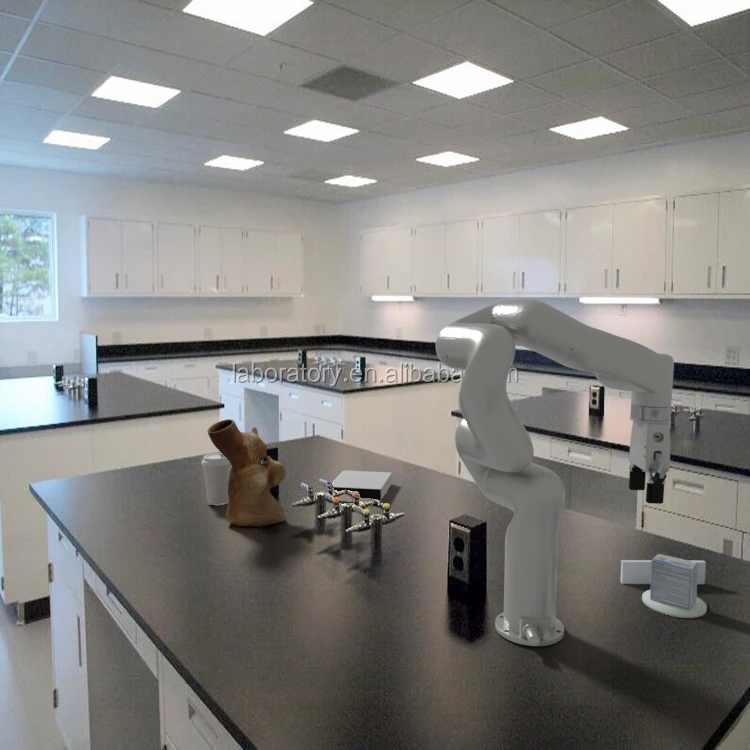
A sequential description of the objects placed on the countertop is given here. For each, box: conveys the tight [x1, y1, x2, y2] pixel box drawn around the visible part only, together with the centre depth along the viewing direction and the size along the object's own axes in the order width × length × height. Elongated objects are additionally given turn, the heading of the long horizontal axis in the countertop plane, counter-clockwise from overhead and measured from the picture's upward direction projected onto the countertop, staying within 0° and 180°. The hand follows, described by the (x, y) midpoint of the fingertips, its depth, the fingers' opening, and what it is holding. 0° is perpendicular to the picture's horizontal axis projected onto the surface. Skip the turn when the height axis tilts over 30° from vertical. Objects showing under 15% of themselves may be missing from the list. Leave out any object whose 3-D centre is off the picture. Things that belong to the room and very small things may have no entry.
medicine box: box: [649, 553, 698, 610], centre depth 130 cm, size 8×4×9 cm, turn 50°
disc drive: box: [331, 469, 393, 500], centre depth 210 cm, size 18×22×5 cm
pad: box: [641, 589, 708, 619], centre depth 130 cm, size 12×12×1 cm
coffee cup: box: [200, 452, 232, 504], centre depth 198 cm, size 10×10×15 cm
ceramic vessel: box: [207, 419, 286, 527], centre depth 179 cm, size 16×22×30 cm
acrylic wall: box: [620, 559, 707, 585], centre depth 140 cm, size 1×18×5 cm, turn 89°
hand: (645, 496), depth 131 cm, fingers open, 9 cm apart
